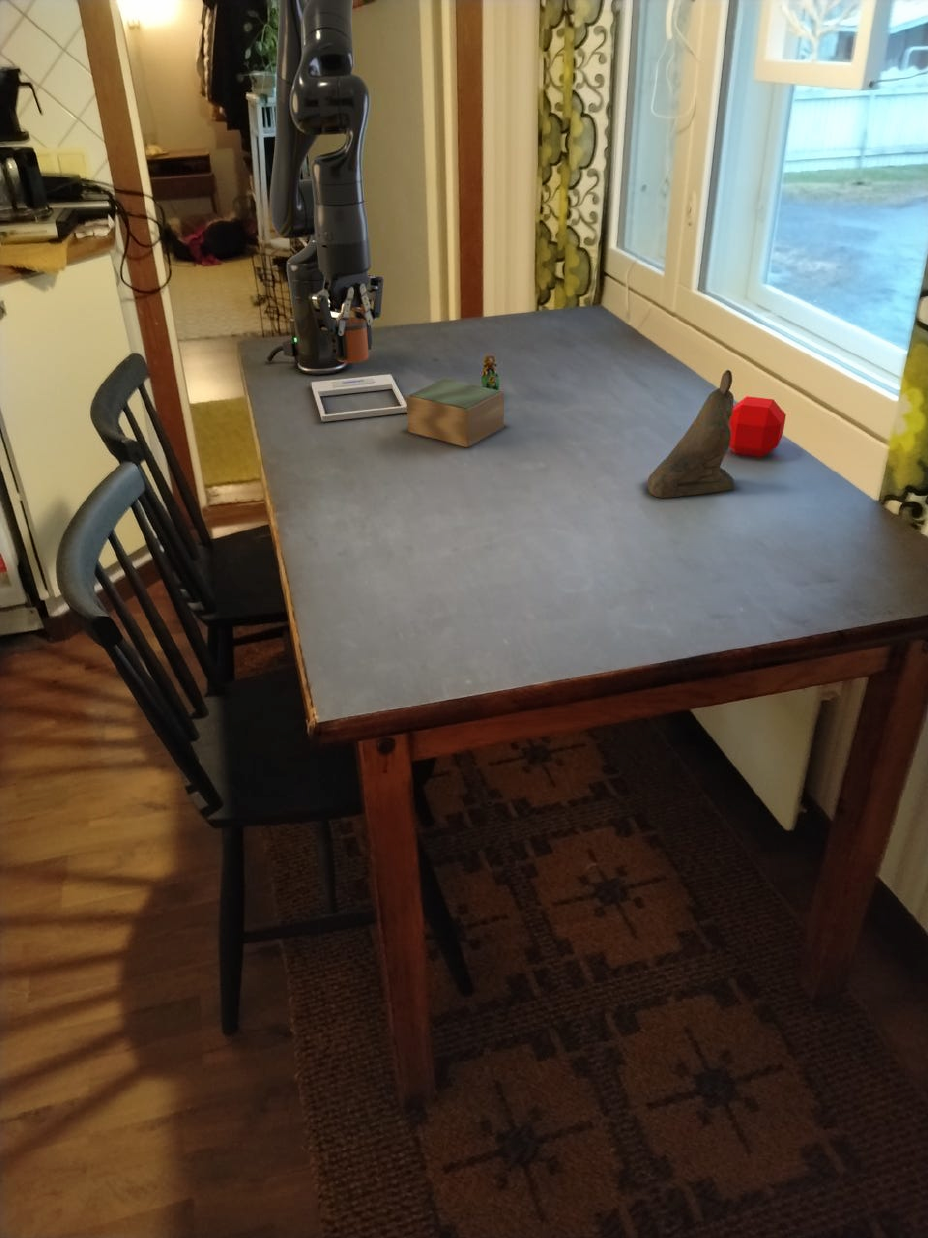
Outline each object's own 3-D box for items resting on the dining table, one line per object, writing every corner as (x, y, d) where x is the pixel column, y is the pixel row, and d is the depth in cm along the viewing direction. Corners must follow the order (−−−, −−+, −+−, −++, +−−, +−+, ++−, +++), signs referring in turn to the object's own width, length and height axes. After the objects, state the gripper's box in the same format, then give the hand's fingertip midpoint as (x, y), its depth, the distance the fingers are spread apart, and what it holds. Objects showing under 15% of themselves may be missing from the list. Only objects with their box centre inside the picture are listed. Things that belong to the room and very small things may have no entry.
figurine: (495, 388, 172) (495, 343, 167) (503, 412, 162) (502, 364, 157) (478, 389, 171) (477, 344, 167) (485, 413, 161) (484, 365, 157)
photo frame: (390, 373, 177) (408, 405, 162) (390, 379, 177) (408, 412, 162) (311, 381, 174) (321, 415, 159) (311, 387, 175) (322, 421, 160)
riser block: (408, 432, 155) (405, 394, 152) (445, 413, 162) (444, 377, 159) (467, 447, 149) (466, 409, 146) (504, 427, 156) (503, 390, 152)
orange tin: (330, 359, 145) (326, 323, 142) (352, 350, 148) (348, 315, 145) (354, 364, 143) (351, 328, 140) (375, 356, 146) (373, 320, 143)
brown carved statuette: (718, 492, 139) (759, 370, 130) (731, 508, 134) (775, 382, 125) (641, 483, 136) (677, 358, 127) (652, 498, 132) (691, 370, 123)
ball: (782, 444, 146) (790, 396, 142) (773, 464, 140) (781, 414, 136) (729, 437, 149) (735, 390, 145) (718, 456, 143) (724, 407, 139)
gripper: (356, 224, 143) (365, 338, 152) (287, 242, 133) (301, 362, 142) (395, 229, 139) (401, 346, 148) (326, 248, 129) (338, 371, 139)
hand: (352, 353), depth 145 cm, fingers closed on orange tin, 4 cm apart
